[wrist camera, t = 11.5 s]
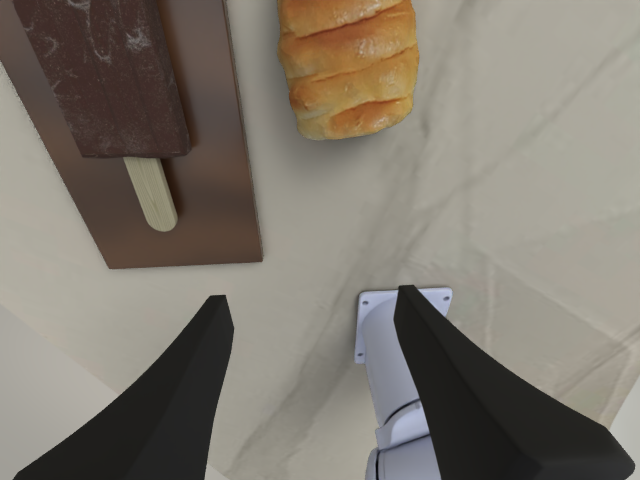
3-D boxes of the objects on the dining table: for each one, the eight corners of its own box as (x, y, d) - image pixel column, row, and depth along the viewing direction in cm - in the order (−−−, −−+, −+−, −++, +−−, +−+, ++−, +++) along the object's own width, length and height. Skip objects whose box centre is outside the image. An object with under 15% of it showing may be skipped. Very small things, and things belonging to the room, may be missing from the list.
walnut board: (263, 256, 22) (262, 262, 22) (114, 263, 22) (108, 269, 21) (189, -254, 10) (181, -275, 10) (-148, -263, 10) (-182, -286, 9)
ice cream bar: (211, 221, 20) (129, -118, 11) (204, 235, 18) (106, -140, 10) (129, 224, 19) (-15, -121, 11) (116, 238, 18) (-59, -144, 10)
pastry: (244, -73, 13) (227, -114, 10) (399, -123, 12) (435, -183, 9) (301, 141, 18) (303, 161, 15) (412, 112, 17) (438, 126, 14)
